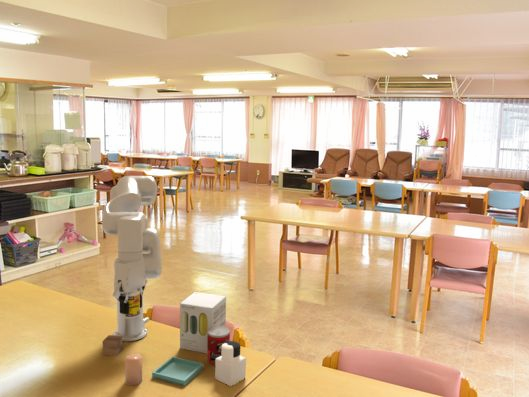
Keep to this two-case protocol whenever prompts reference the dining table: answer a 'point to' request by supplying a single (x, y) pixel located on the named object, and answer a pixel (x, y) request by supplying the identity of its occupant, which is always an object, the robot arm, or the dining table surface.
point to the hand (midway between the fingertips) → (131, 309)
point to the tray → (177, 371)
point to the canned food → (216, 342)
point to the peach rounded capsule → (133, 369)
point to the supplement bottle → (133, 304)
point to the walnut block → (112, 345)
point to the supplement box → (200, 319)
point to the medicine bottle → (230, 364)
